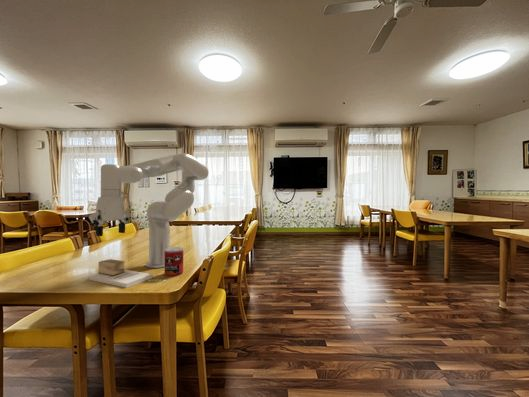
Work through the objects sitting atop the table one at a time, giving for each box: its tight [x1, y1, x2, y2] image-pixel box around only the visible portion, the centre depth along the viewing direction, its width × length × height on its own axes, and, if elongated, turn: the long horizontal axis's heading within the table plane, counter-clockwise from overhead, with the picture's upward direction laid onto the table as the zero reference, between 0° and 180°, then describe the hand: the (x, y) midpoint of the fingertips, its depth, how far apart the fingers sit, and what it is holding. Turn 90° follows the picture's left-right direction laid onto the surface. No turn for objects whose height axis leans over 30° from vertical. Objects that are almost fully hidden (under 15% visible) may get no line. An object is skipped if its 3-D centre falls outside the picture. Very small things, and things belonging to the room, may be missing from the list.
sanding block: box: [98, 258, 125, 276], centre depth 103 cm, size 5×9×5 cm, turn 67°
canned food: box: [164, 246, 184, 277], centre depth 107 cm, size 8×8×11 cm
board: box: [88, 268, 154, 288], centre depth 100 cm, size 12×22×2 cm, turn 67°
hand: (111, 234), depth 103 cm, fingers open, 9 cm apart
